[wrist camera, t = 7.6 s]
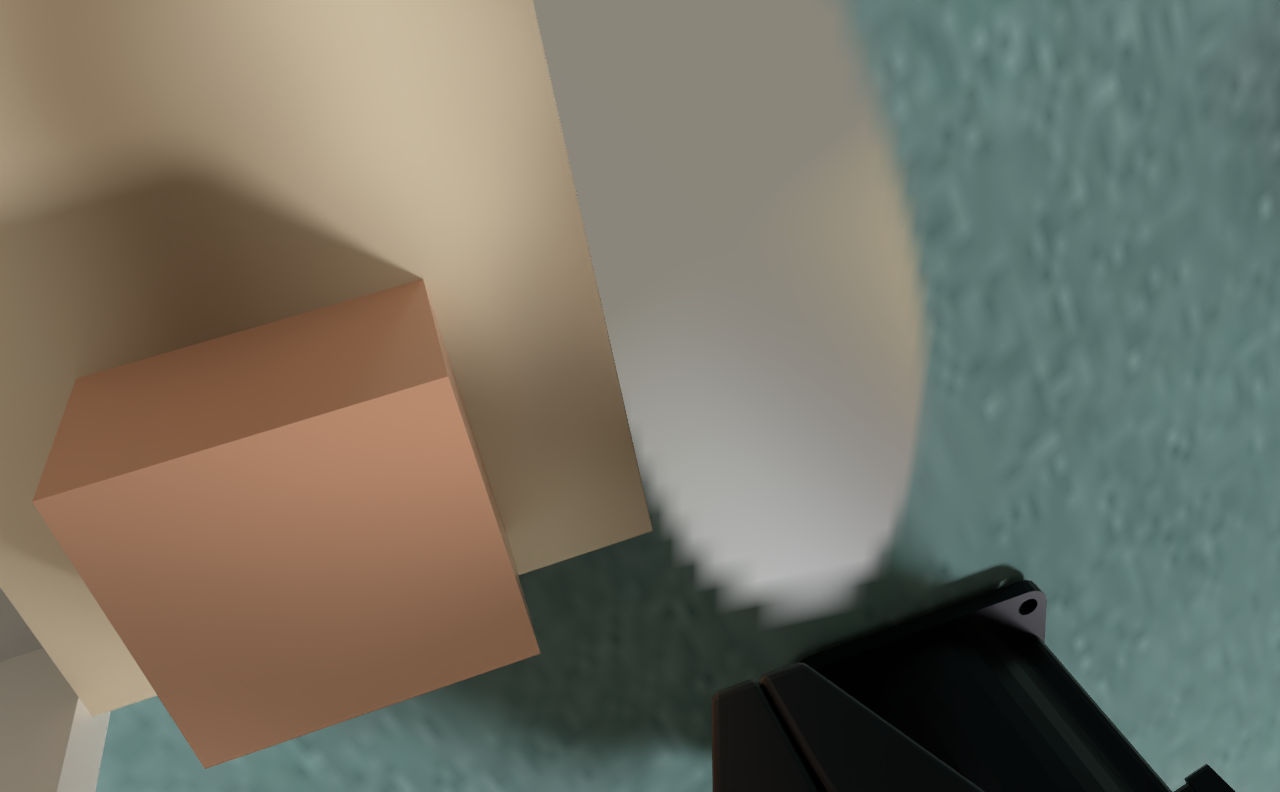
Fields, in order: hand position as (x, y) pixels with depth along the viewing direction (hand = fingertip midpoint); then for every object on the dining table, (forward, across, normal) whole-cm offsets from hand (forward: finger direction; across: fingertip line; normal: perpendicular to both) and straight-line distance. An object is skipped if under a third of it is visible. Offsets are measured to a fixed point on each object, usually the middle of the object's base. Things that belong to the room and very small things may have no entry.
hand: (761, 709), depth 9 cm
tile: (+9, +4, +1) cm, 10 cm away
